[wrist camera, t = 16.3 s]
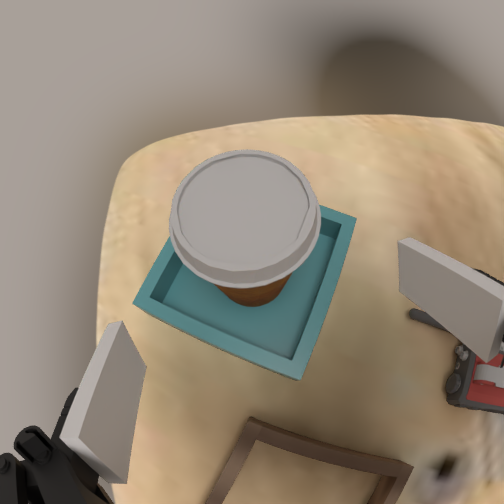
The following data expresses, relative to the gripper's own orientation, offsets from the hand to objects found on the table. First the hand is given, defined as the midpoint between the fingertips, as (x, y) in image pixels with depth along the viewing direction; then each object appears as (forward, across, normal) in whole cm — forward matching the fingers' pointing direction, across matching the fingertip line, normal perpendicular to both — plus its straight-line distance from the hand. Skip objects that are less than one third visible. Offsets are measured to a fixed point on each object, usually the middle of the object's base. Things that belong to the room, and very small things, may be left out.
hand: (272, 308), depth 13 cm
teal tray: (+15, 0, -5) cm, 16 cm away
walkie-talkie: (+4, +19, -18) cm, 27 cm away
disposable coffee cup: (+15, 0, -5) cm, 16 cm away
